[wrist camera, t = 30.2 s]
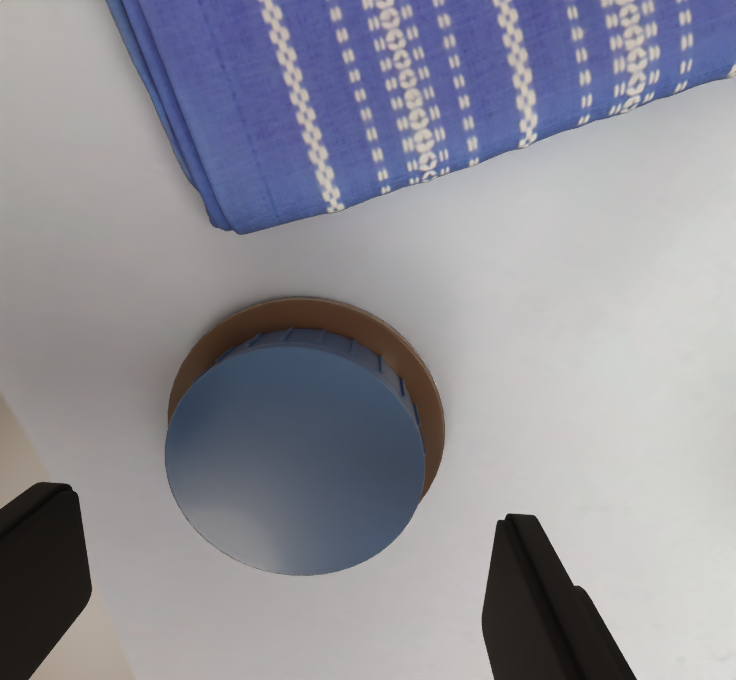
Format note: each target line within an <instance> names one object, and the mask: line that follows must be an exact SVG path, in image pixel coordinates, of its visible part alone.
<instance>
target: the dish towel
mask: <svg viewBox="0 0 736 680" xmlns="http://www.w3.org/2000/svg"><path fill="white" fill-rule="evenodd" d="M106 2H107V5H108V7H109V9H110V12H111V14H112V16H113V19H114V21H115V23H116V26H117V28H118V30H119V32H120V35H121V37H122V39H123V42H124V44H125V46H126V48H127V51H128V53H129V55H130V57H131V60H132V62H133V64H134V66H135V68H136V69H137V71H138V73H139V75H140V77H141V79H142V81H143V83H144V85H145V87H146V89H147V91H148V93H149V95H150V97H151V99H152V102H153V104H154V106H155V109H156V111H157V114H158V116H159V118H160V121H161V123H162V125H163V127H164V130H165V132H166V134H167V136H168V139H169V141H170V143H171V146H172V149H173V152H174V154H175V156H176V158H177V160H178V162H179V164H180V166H181V168H182V170H183V172H184V174H185V175H186V177H187V179H188V180H189V182H190V183H191V184H192V185H193V186H194V187H195V189H196V190H197V191H198V192H199V193H200V195H201V197H202V199H203V201H204V204H205V208H206V211H207V214H208V216H209V219H210V222H211V224H212V225H213V226H214V227H216V228H220V229H222V230H224V231H230V230H234V231H235V232H236V233H237V234H239V235H242V234H248V233H252V232H256V231H259V230H263V229H267V228H270V227H274V226H278V225H281V224H285V223H289V222H292V221H296V220H300V219H304V218H308V217H312V216H316V215H320V214H327V213H336V212H339V211H342V210H344V209H346V208H348V207H351V206H354V205H356V204H359V203H362V202H364V201H366V200H369V199H371V198H374V197H377V196H381V195H384V194H387V193H390V192H392V191H395V190H397V189H400V188H402V187H407V186H411V185H414V184H418V183H424V182H429V181H431V180H433V179H435V178H437V177H440V176H442V175H445V174H448V173H451V172H454V171H457V170H460V169H464V168H467V167H471V166H474V165H476V164H479V163H481V162H483V161H485V160H488V159H490V158H492V157H495V156H497V155H500V154H502V153H504V152H507V151H511V150H517V149H523V148H526V147H528V146H529V145H531V144H533V143H535V142H536V141H539V140H542V139H544V138H547V137H549V136H552V135H554V134H557V133H560V132H562V131H565V130H570V129H574V128H578V127H580V126H583V125H585V124H588V123H590V122H593V121H595V120H600V119H605V118H609V117H612V116H615V115H620V114H624V113H627V112H629V111H630V110H632V109H634V108H637V107H640V106H642V105H645V104H647V103H649V102H651V101H653V100H656V99H660V98H665V97H669V96H672V95H674V94H677V93H680V92H682V91H685V90H687V89H690V88H692V87H695V86H698V85H701V84H704V83H708V82H711V81H715V80H721V79H727V78H732V77H734V76H736V0H106Z"/></svg>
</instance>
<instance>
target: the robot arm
mask: <svg viewBox="0 0 736 680" xmlns="http://www.w3.org/2000/svg"><path fill="white" fill-rule="evenodd" d="M91 592H92V585H91V578H90V571H89V564H88V558H87V551H86V544H85V537H84V531H83V524H82V517H81V510H80V504H79V497H78V494H77V493H76V492H74V491H73V489H72V487H71V486H70V485H69V484H64V483H49V482H40V483H36V484H35V485H33V486H31V487H30V488H29V489H27V490H26V491H24V492H23V493H22V494H20V495H19V496H18V497H16V498H15V499H14V500H12V501H11V502H10V503H8V504H7V505H5V506H4V507H3V508H1V509H0V680H28V679H29V678H30V677H31V676H32V674H33V673H34V672H35V670H36V669H37V668H38V667H39V665H40V664H41V663H42V662H43V660H44V659H45V658H46V657H47V655H48V654H49V653H50V651H51V650H52V649H53V648H54V646H55V645H56V644H57V643H58V641H59V640H60V639H61V637H62V636H63V635H64V633H65V632H66V631H67V630H68V629H69V627H70V626H71V625H72V623H73V622H74V621H75V619H76V618H77V617H78V616H79V615H80V613H81V612H82V611H83V609H84V608H85V607H86V605H87V603H88V601H89V599H90V596H91ZM482 631H483V637H484V641H485V645H486V649H487V652H488V656H489V660H490V664H491V668H492V672H493V676H494V680H637V679H636V677H635V675H634V674H633V672H632V670H631V668H630V667H629V665H628V663H627V661H626V660H625V658H624V656H623V654H622V653H621V651H620V649H619V647H618V646H617V644H616V642H615V640H614V639H613V637H612V635H611V633H610V632H609V630H608V628H607V626H606V625H605V623H604V621H603V619H602V618H601V616H600V614H599V612H598V611H597V609H596V607H595V605H594V604H593V602H592V600H591V598H590V597H589V595H588V594H587V592H586V591H585V590H584V589H583V588H581V587H580V586H574V585H573V583H572V581H571V579H570V578H569V576H568V574H567V572H566V570H565V568H564V567H563V565H562V563H561V561H560V559H559V557H558V556H557V554H556V552H555V550H554V548H553V546H552V545H551V543H550V541H549V539H548V537H547V535H546V534H545V532H544V530H543V528H542V526H541V524H540V522H539V521H538V519H537V518H536V516H534V515H524V514H507V515H506V517H505V520H498V522H497V525H496V531H495V538H494V544H493V550H492V556H491V562H490V569H489V575H488V581H487V587H486V593H485V599H484V606H483V612H482Z"/></svg>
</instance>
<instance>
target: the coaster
mask: <svg viewBox="0 0 736 680" xmlns="http://www.w3.org/2000/svg"><path fill="white" fill-rule="evenodd" d="M289 327H293V329H313V330H320V331H322V329H326V332H330V333H334V334H337V335H341V336H343V337H346V338H348V339H351V340H353V339H356V340H357V343H359V344H361V345H363V346H364V347H366V348H368V349H369V350H371V351H372V352H373V353H375V354H376V355H377V356H379V357H380V356H382V357H383V358H384V362H385V363H386V364H388V365H389V366H390V367H391V368H392V370H393V371H394V372H395V373H396V375H397V376H398V377H399V378H400V379H401V378H402V379H403V380H404V384H405V388H406V390H407V391H408V393H409V396H410V398H411V400H412V403H413V405H415V404H416V406H417V410H418V415H419V419H420V424H421V427H419V430H420V432H421V433H422V437H423V442H424V446H425V451H426V456H425V457H424V458H425V480H424V485H423V490H422V494H421V497H420V500H419V503H420V501H421V500H422V498H423V497H424V496H425V494H426V493H427V491H428V490H429V488H430V486H431V484H432V482H433V480H434V478H435V476H436V474H437V471H438V468H439V465H440V462H441V459H442V454H443V449H444V440H445V423H444V413H443V408H442V404H441V400H440V396H439V393H438V390H437V388H436V385H435V383H434V381H433V378H432V376H431V373H430V372H429V370H428V368H427V366H426V365H425V363H424V361H423V360H422V358H421V357H420V356H419V354H418V353H417V352H416V350H415V349H414V348H413V347H412V345H411V344H410V343H409V342H408V341H407V340H406V339H405V338H404V337H403V336H402V335H400V334H399V333H398V332H397V331H396V330H395V329H393V328H392V327H391V326H389V325H388V324H386V323H385V322H384V321H382V320H381V319H379V318H377V317H375V316H373V315H372V314H370V313H368V312H366V311H364V310H361V309H359V308H356V307H354V306H351V305H349V304H345V303H341V302H337V301H333V300H329V299H321V298H312V297H291V298H284V299H276V300H271V301H267V302H264V303H260V304H257V305H254V306H251V307H249V308H247V309H244V310H242V311H240V312H238V313H236V314H234V315H233V316H231V317H229V318H228V319H226V320H224V321H223V322H221V323H220V324H218V325H217V326H215V327H214V328H213V329H212V330H211V331H209V332H208V333H207V334H206V335H205V336H203V337H202V339H201V340H200V341H199V342H198V343H197V344H196V345H195V346H194V347H193V349H192V350H191V351H190V353H189V354H188V356H187V357H186V359H185V360H184V362H183V363H182V365H181V367H180V369H179V372H178V374H177V376H176V378H175V381H174V384H173V388H172V391H171V394H170V401H169V408H168V428H169V424H170V421H171V418H172V416H173V414H174V411H175V409H176V407H177V405H178V403H179V402H180V400H181V399H182V397H183V396H184V395H185V393H186V392H187V390H188V389H189V388H190V387H191V386H192V385H193V384H192V382H193V381H194V380H195V379H196V378H197V377H198V376H200V375H201V374H202V373H203V372H204V371H205V370H207V369H208V368H209V367H210V366H214V365H215V364H216V362H215V361H216V360H217V359H218V358H219V357H220V356H222V355H223V354H224V353H225V352H226V351H227V350H229V349H230V348H231V347H232V346H234V347H235V348H236V347H237V346H239V345H241V344H242V343H244V342H246V341H248V340H250V339H252V338H254V337H255V336H256V335H257V334H258V333H262V335H263V334H266V333H270V332H274V331H279V330H287V329H289ZM419 503H418V504H419Z"/></svg>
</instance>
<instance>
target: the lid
mask: <svg viewBox="0 0 736 680" xmlns="http://www.w3.org/2000/svg"><path fill="white" fill-rule="evenodd" d="M215 362H216V364H215V365H214V366H210V367H209V368H208V369H207V370H205V371H204V372H203V373H202V374H201V375H200V376H198V377H197V378H196V379H195V380H194V381H193V382H192V384H193V385H192V386H191V387H190V388H189V389H188V390H187V392H186V393H185V395H184V396H183V397H182V399H181V400H180V402H179V403H178V405H177V407H176V409H175V411H174V414H173V416H172V418H171V421H170V424H169V428H168V431H167V437H166V444H165V466H166V472H167V478H168V481H169V485H170V488H171V491H172V493H173V496H174V498H175V500H176V502H177V504H178V506H179V508H180V509H181V511H182V513H183V514H184V516H185V517H186V519H187V520H188V521H189V522H190V524H191V525H192V526H193V527H194V529H195V530H196V531H197V532H198V533H199V534H200V535H201V536H202V537H203V538H204V539H206V540H207V541H208V542H209V543H210V544H212V545H213V546H214V547H216V548H217V549H218V550H220V551H221V552H223V553H225V554H226V555H228V556H230V557H231V558H233V559H235V560H237V561H239V562H242V563H244V564H246V565H248V566H251V567H254V568H257V569H260V570H264V571H268V572H273V573H277V574H285V575H297V576H310V575H321V574H327V573H332V572H337V571H341V570H344V569H347V568H350V567H353V566H355V565H358V564H360V563H362V562H364V561H366V560H368V559H370V558H371V557H373V556H375V555H376V554H378V553H380V552H381V551H382V550H383V549H385V548H386V547H387V546H388V545H390V544H391V543H392V542H393V541H394V540H395V539H396V538H397V537H398V536H399V535H400V533H401V532H402V531H403V530H404V528H405V527H406V525H407V524H408V523H409V521H410V520H411V518H412V516H413V514H414V512H415V510H416V508H417V506H418V503H419V500H420V497H421V494H422V490H423V485H424V480H425V458H424V457H425V456H426V451H425V446H424V442H423V437H422V433H421V432H420V430H419V427H421V424H420V419H419V415H418V410H417V406H416V404H415V405H413V403H412V400H411V398H410V396H409V393H408V391H407V390H406V388H405V384H404V380H403V379H402V378H401V379H400V378H399V377H398V376H397V375H396V373H395V372H394V371H393V370H392V368H391V367H390V366H389V365H388V364H386V363H385V362H384V358H383V357H382V356H380V357H379V356H377V355H376V354H375V353H373V352H372V351H371V350H369V349H368V348H366V347H364V346H363V345H361V344H359V343H357V340H356V339H353V340H351V339H348V338H346V337H343V336H341V335H337V334H334V333H330V332H326V329H322V331H320V330H313V329H293V327H289V329H287V330H279V331H274V332H270V333H266V334H263V335H262V333H258V334H257V335H256V336H255V337H254V338H252V339H250V340H248V341H246V342H244V343H242V344H241V345H239V346H237V347H236V348H235V347H234V346H232V347H231V348H230V349H229V350H227V351H226V352H225V353H224V354H223V355H222V356H220V357H219V358H218V359H217V360H216V361H215Z"/></svg>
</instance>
